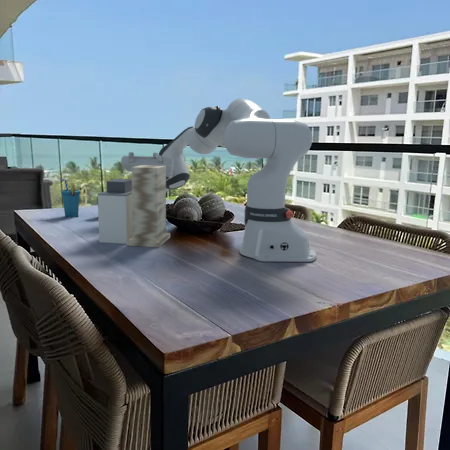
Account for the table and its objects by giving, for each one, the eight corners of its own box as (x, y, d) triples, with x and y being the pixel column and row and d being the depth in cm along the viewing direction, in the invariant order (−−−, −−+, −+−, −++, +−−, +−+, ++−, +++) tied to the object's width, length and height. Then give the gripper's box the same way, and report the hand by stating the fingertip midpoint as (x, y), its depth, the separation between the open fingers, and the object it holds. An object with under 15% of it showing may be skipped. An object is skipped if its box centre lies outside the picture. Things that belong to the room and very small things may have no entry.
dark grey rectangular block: (142, 187, 160) (142, 177, 159) (125, 193, 143) (124, 182, 142) (125, 186, 160) (125, 176, 160) (106, 192, 143) (106, 181, 143)
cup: (53, 214, 188) (52, 178, 185) (71, 212, 193) (70, 177, 190) (69, 219, 178) (67, 181, 175) (87, 217, 183) (86, 180, 180)
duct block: (140, 234, 156) (139, 189, 153) (126, 243, 142) (125, 194, 139) (115, 233, 157) (114, 188, 154) (99, 242, 143) (97, 193, 140)
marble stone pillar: (170, 237, 152) (170, 165, 148) (158, 247, 139) (158, 168, 134) (141, 235, 154) (140, 164, 149) (127, 245, 140) (126, 167, 135)
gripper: (128, 163, 184) (117, 146, 171) (177, 164, 181) (170, 147, 168) (125, 177, 182) (114, 161, 169) (175, 178, 179) (168, 162, 166)
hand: (142, 154), depth 168 cm, fingers open, 8 cm apart
